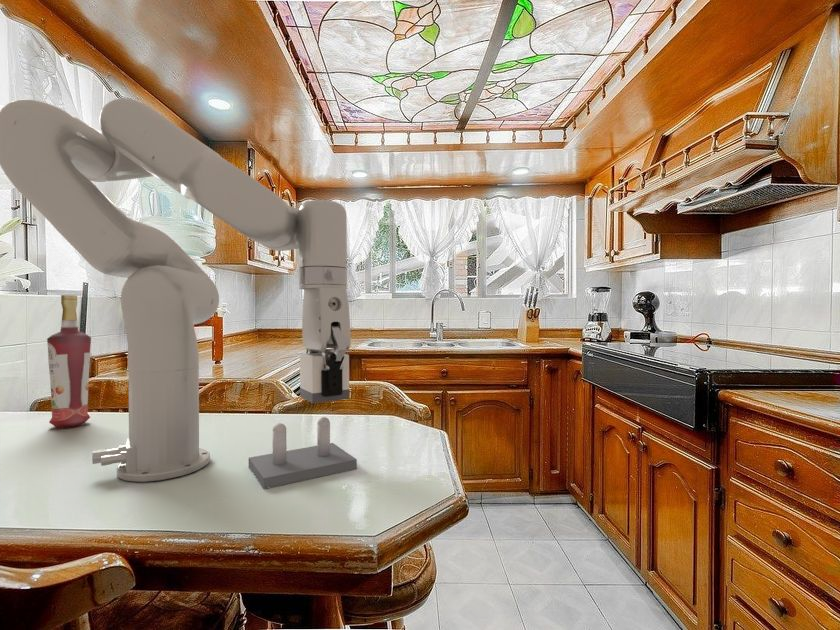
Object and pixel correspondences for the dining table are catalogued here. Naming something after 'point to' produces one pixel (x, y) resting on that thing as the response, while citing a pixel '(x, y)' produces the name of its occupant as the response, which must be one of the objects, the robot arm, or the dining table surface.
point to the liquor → (69, 369)
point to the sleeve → (319, 378)
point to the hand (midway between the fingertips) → (324, 391)
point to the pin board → (300, 459)
